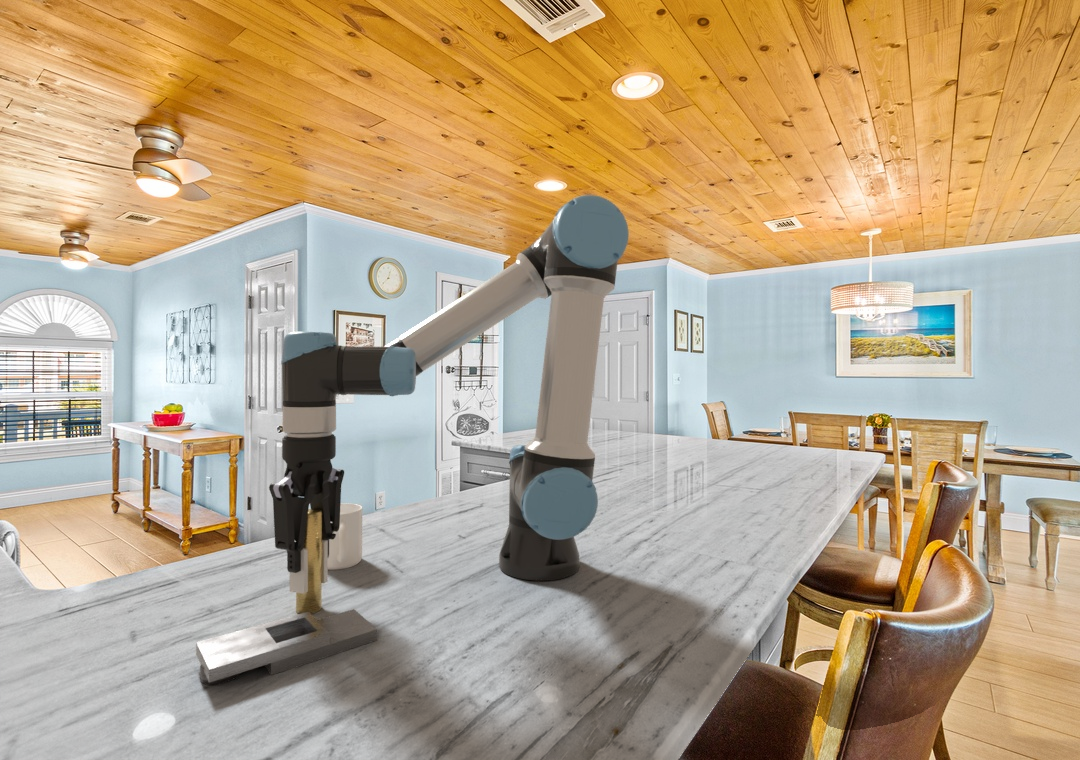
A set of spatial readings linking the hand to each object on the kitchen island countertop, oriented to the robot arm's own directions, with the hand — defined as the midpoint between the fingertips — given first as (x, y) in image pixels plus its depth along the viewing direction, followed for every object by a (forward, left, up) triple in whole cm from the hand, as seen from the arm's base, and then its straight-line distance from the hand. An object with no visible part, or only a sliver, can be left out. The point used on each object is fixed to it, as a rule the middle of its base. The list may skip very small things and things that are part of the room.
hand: (308, 585), depth 84 cm
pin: (0, 0, -4) cm, 4 cm away
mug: (+8, -17, -4) cm, 19 cm away
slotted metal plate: (-7, +11, -4) cm, 14 cm away
